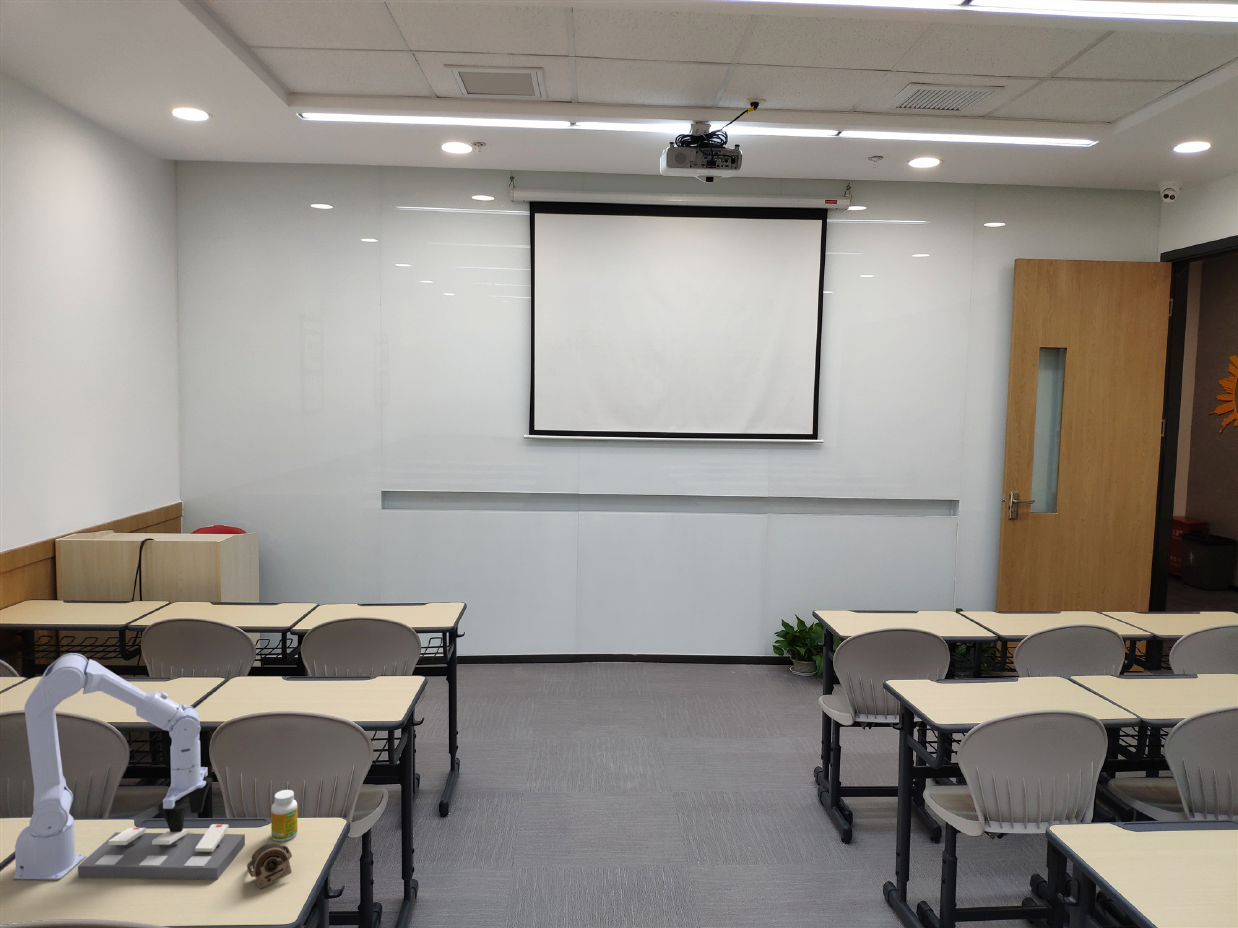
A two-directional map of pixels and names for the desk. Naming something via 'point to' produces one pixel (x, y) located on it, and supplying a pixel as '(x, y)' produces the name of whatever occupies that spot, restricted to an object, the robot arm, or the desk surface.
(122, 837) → the rocker left
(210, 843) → the rocker right
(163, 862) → the rocker switch panel
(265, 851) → the mechanical counter
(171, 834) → the rocker middle
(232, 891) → the desk surface
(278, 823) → the supplement bottle
